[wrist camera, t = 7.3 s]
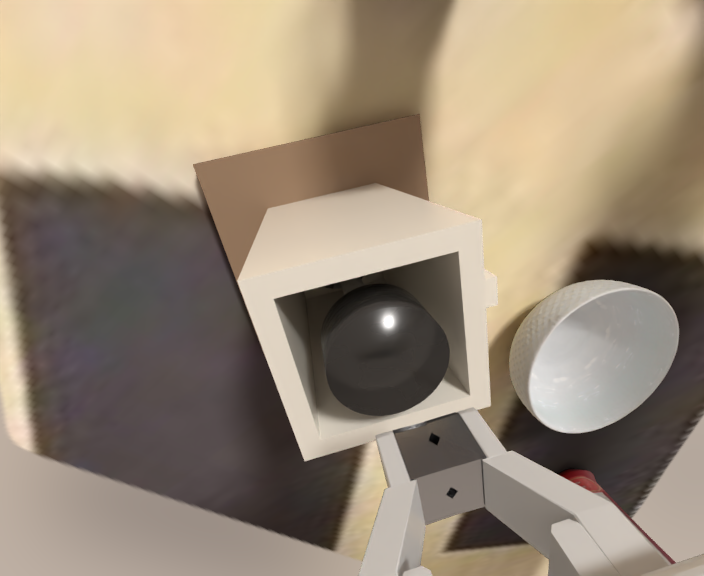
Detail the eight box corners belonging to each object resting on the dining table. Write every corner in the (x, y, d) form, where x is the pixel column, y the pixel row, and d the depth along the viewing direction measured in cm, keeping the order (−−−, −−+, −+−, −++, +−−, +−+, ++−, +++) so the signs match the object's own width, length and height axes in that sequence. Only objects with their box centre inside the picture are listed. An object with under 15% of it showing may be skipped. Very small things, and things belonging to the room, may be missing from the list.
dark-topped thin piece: (365, 205, 27) (459, 270, 12) (378, 276, 30) (470, 404, 15) (289, 223, 27) (286, 316, 12) (309, 294, 30) (329, 446, 14)
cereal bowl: (631, 344, 42) (693, 378, 36) (517, 413, 43) (557, 459, 37) (599, 235, 35) (668, 253, 29) (465, 320, 37) (502, 356, 30)
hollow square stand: (412, 115, 28) (599, 58, 11) (435, 304, 35) (569, 444, 18) (197, 164, 27) (35, 181, 10) (266, 349, 34) (241, 546, 17)
